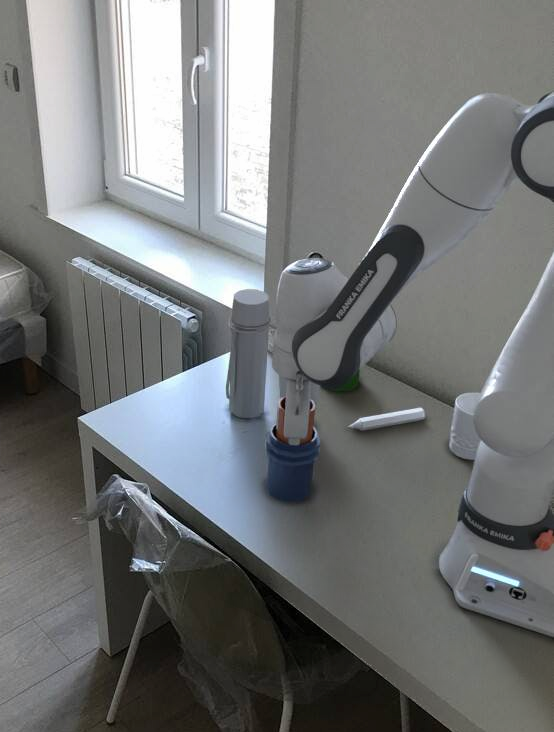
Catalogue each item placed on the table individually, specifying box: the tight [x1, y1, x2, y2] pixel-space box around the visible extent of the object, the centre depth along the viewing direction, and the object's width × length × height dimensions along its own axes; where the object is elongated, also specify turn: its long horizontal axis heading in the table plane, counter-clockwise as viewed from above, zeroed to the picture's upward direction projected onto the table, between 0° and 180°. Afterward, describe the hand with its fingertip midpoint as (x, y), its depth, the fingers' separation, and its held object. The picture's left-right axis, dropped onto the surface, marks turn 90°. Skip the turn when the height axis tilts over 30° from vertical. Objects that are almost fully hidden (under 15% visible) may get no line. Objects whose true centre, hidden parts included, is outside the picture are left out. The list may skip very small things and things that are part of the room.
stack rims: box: [265, 430, 321, 466], centre depth 144 cm, size 9×9×2 cm
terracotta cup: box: [275, 396, 316, 444], centre depth 142 cm, size 6×6×10 cm
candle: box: [324, 368, 361, 392], centre depth 175 cm, size 8×8×10 cm
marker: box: [346, 407, 426, 432], centre depth 164 cm, size 3×2×16 cm
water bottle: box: [225, 288, 272, 419], centre depth 162 cm, size 9×8×25 cm
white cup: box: [448, 392, 481, 461], centre depth 154 cm, size 8×8×10 cm
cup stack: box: [265, 422, 319, 503], centre depth 146 cm, size 8×8×12 cm
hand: (294, 429), depth 142 cm, fingers closed on terracotta cup, 6 cm apart
